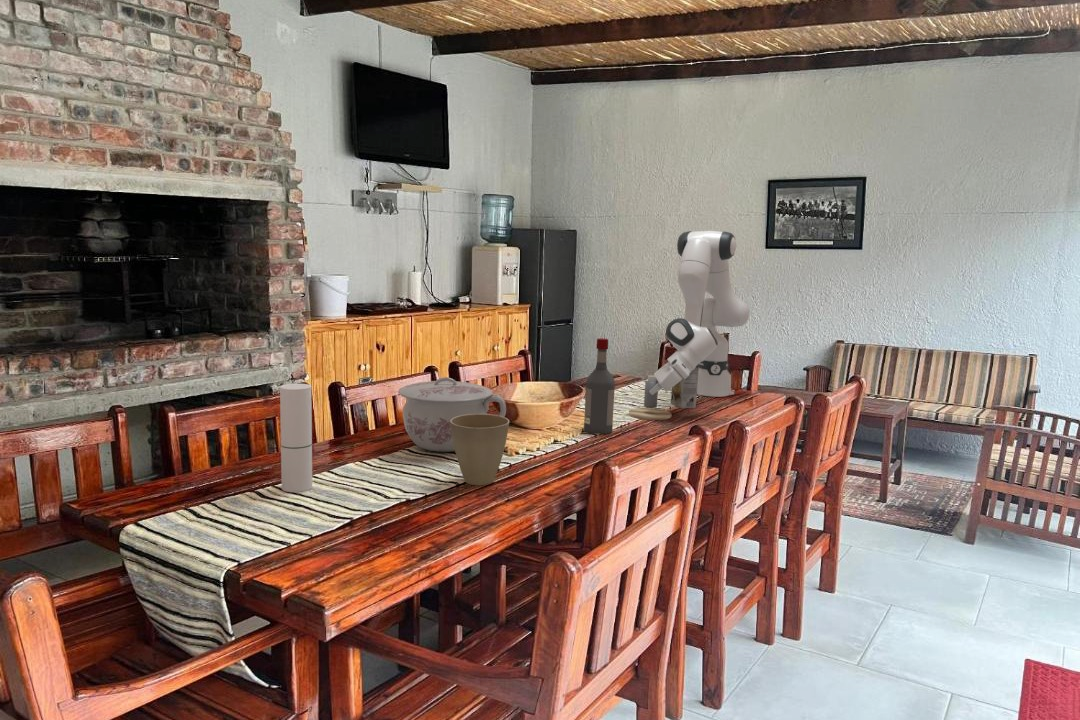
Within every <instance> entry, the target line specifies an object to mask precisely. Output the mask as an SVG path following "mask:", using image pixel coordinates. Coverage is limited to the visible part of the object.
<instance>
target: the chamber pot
mask: <svg viewBox="0 0 1080 720" xmlns="http://www.w3.org/2000/svg"><path fill="white" fill-rule="evenodd" d="M397 393H398V395H400V396H401V397H403V398H405V399H406V401H405V403H404V405H403V407H402V419H403V424H404V428H405V431H406V433H407V434H408V436H409V437H410V439H411V441H412V442H413V443H414V445H416V447H418V448H419V449H420V448H421V449H423V450H426V451H427V452H428V451H429V452H434V453H456V452H455V448H454V443H453V438H452V431H451V424H450V420H451V419H452V418H454V417H457V416H461V415H468V414H488V411H489V407H490V405H489V404H490V403H493V402H496V403H498V404H499V407H500V408H499V409H500V413H499V415H498V416H502V417H505V416H506V414H507V413H506V412H507V403H506V401H505V400H504V398H503V397H502V396H501V395H499V394H498V393H494V394H493V390H492V389H491V388H489V387H487V386H484V385H481V384H476V383H472V382H467V381H456V380H455V379H453V378H451V377H449V376H448V377H446V376H443V377H440V378H438V379H437V380H430V381H429V380H428V381H420V382H415V383H411V384H408V385H407V384H406V385H404V386H402V387H400V388H398V390H397Z"/></svg>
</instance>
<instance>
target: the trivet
mask: <svg viewBox="0 0 1080 720" xmlns="http://www.w3.org/2000/svg"><path fill="white" fill-rule="evenodd" d="M628 415H629V416H630V417H632V418H634V419H638V420H645V421H665V420H670V419H672V416H673V415H672V412H670V411H668V410H664V409H660V408H647V407H635V408H631V409H629V411H628Z"/></svg>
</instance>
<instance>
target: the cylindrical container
mask: <svg viewBox="0 0 1080 720" xmlns="http://www.w3.org/2000/svg"><path fill="white" fill-rule="evenodd" d="M279 399H280V400H279V402H280V403H279V407H280V408H279V411H280V413H279V415H280V463H281V464H280V469H281V472H280V473H281V490H282V491H284V492H287V493H300V492H302V493H303V492H306V491H309V490H311V489H312V488H313V440H312V439H313V434H312V433H313V431H312V430H313V427H312V426H313V422H312V421H313V419H312V417H313V415H312V414H313V413H312V412H313V411H312V408H313V407H312V385H311V384H307V383H288V384H287V383H286V384H283V385H280V386H279Z"/></svg>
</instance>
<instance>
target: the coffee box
mask: <svg viewBox="0 0 1080 720" xmlns="http://www.w3.org/2000/svg"><path fill="white" fill-rule="evenodd" d="M689 365H690V364H689ZM690 366H691V365H690ZM698 371H699V366H698V365H697V366H696V367H695V369H694V370H692V371H691V372H690V373H689V376H688V377H687V378H686V379H684V378H683V379H682V380H681V381H680V382H679V383H677V384H676V385H675V386H673V387H672V388H671V394H670V395H671V396H670V397H671V398H670V404H672V405H674V406H676V407H678V408H680V409H696V408H697V406H696V405H697V395H698V394H697V384H698Z"/></svg>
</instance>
